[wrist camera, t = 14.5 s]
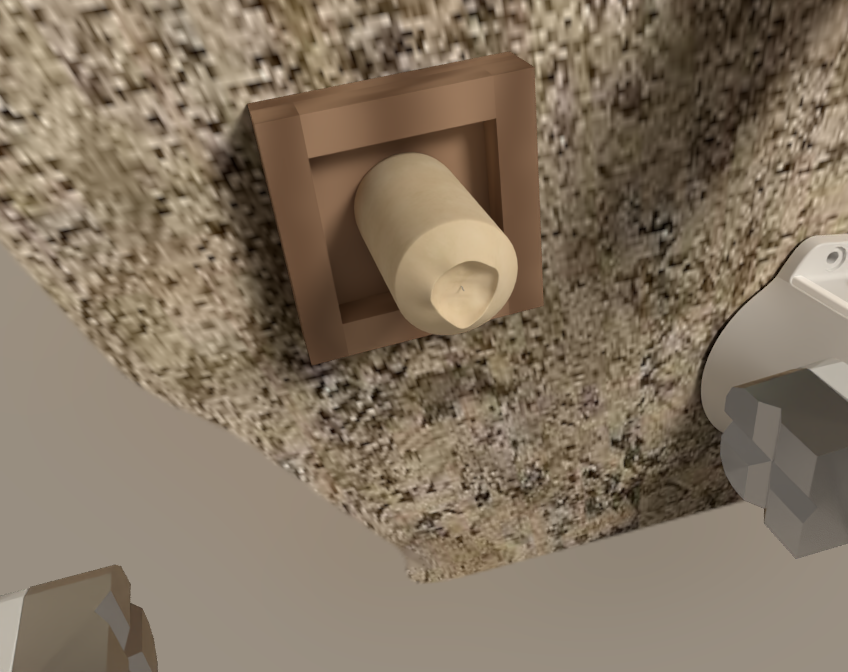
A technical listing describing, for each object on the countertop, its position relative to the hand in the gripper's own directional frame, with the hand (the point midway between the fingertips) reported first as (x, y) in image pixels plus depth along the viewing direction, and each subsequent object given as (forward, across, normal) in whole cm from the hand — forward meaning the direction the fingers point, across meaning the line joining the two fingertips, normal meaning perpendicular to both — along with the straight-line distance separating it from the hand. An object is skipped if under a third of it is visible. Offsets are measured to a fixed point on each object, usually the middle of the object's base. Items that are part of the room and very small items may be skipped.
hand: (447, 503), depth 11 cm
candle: (+30, +6, -10) cm, 32 cm away
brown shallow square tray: (+31, +6, -10) cm, 33 cm away
